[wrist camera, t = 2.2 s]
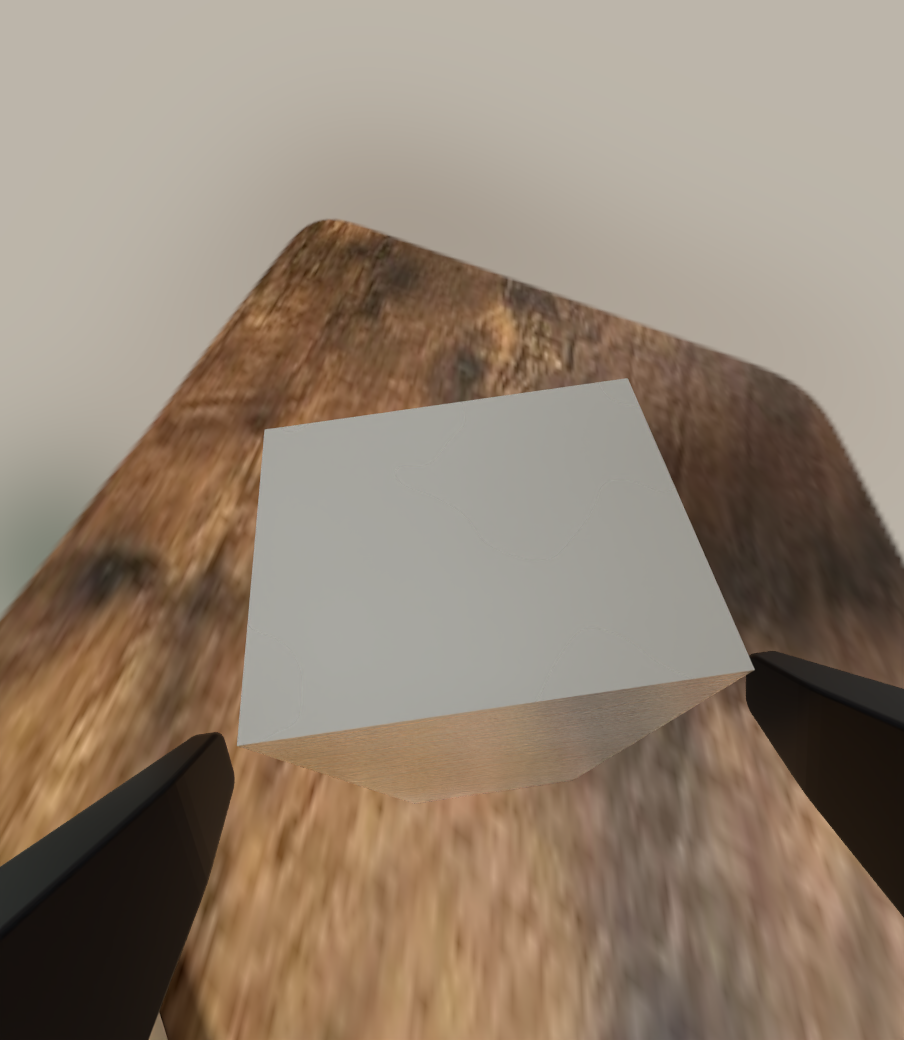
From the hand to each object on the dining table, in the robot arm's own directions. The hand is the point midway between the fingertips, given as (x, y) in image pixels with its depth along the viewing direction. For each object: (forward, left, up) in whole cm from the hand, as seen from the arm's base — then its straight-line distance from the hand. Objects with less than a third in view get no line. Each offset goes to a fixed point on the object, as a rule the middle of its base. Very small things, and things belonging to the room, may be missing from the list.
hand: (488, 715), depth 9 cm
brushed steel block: (+1, -1, -9) cm, 9 cm away
